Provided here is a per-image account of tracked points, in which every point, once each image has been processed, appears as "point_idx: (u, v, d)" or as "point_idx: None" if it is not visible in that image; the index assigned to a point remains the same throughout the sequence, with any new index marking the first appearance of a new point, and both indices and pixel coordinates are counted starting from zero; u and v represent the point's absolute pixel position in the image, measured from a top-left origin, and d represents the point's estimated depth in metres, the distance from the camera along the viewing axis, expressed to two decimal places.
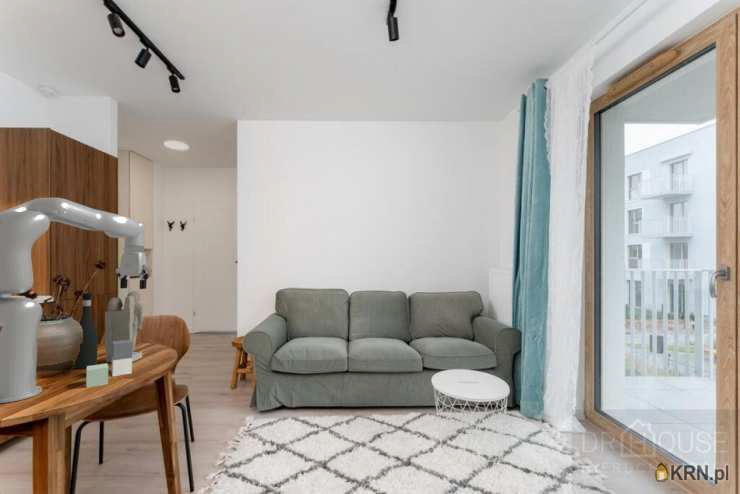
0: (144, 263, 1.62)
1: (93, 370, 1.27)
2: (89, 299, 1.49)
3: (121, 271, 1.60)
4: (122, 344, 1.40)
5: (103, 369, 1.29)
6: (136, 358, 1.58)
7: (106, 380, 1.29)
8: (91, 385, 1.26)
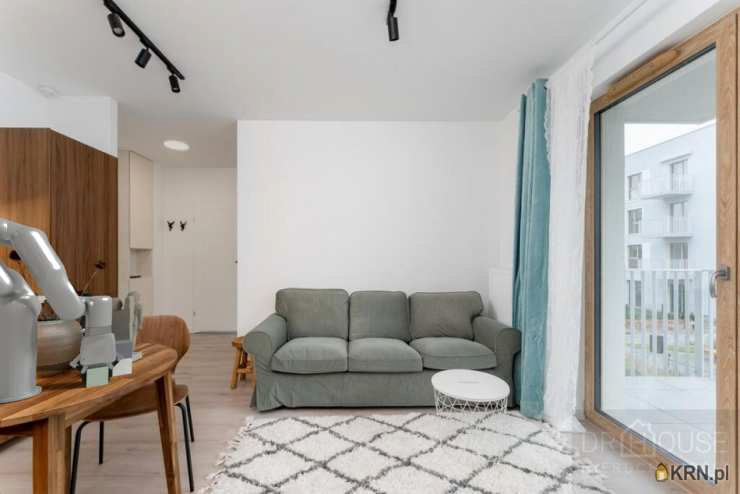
0: None
1: (93, 370, 1.27)
2: None
3: (84, 361, 1.26)
4: (122, 344, 1.40)
5: (103, 369, 1.29)
6: (136, 358, 1.58)
7: (106, 380, 1.29)
8: (91, 385, 1.27)
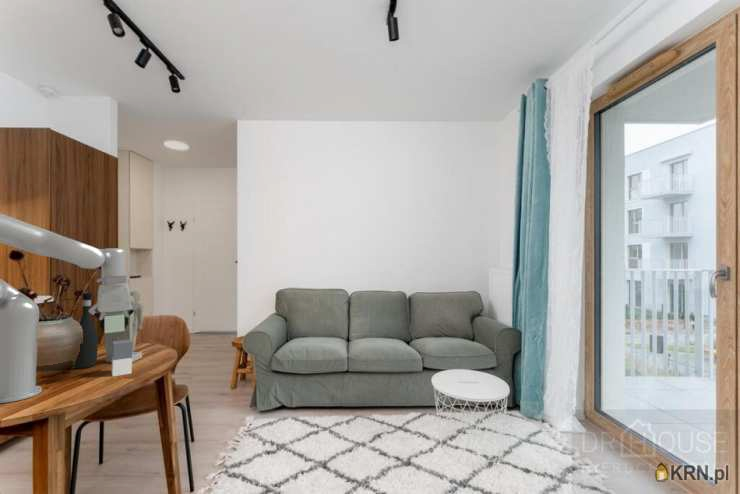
0: None
1: (110, 317, 1.34)
2: (89, 299, 1.49)
3: (102, 308, 1.33)
4: (122, 344, 1.40)
5: (119, 316, 1.36)
6: (136, 358, 1.58)
7: (123, 327, 1.36)
8: (109, 331, 1.34)
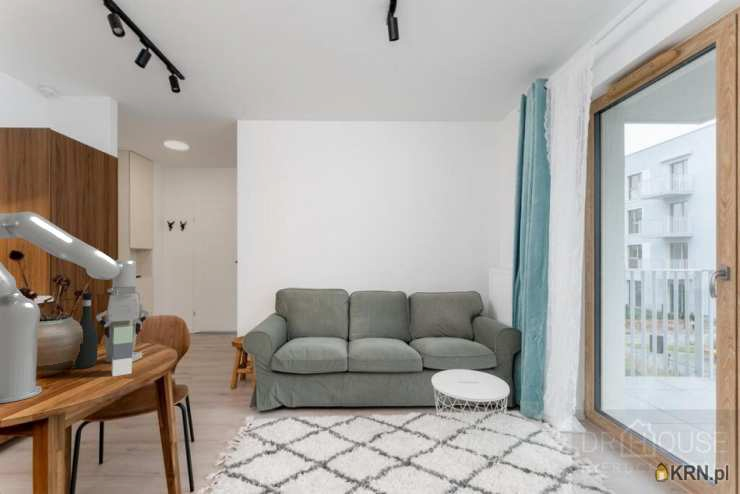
0: None
1: (119, 328, 1.39)
2: (89, 299, 1.49)
3: (112, 317, 1.38)
4: (122, 344, 1.40)
5: (128, 328, 1.41)
6: (136, 358, 1.58)
7: (131, 338, 1.41)
8: (118, 342, 1.39)
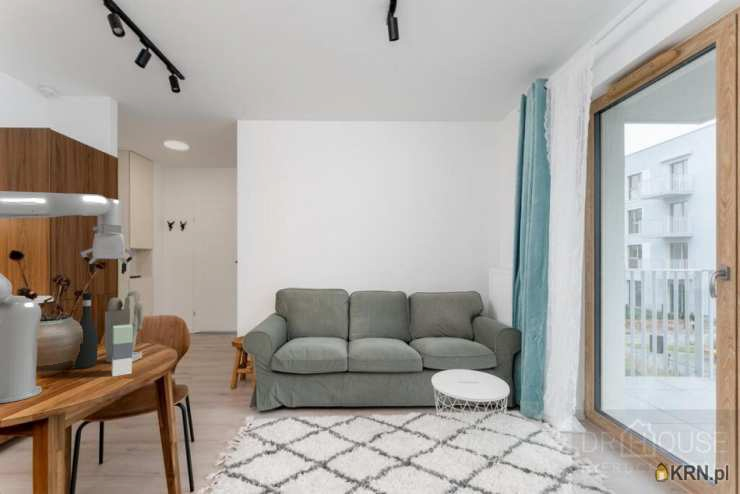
0: None
1: (119, 328, 1.39)
2: (89, 299, 1.49)
3: (97, 254, 1.39)
4: (122, 344, 1.40)
5: (128, 328, 1.41)
6: (136, 358, 1.58)
7: (131, 338, 1.42)
8: (118, 342, 1.39)
